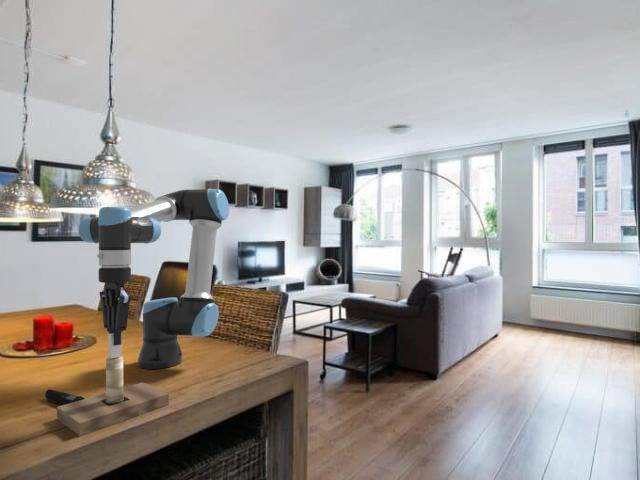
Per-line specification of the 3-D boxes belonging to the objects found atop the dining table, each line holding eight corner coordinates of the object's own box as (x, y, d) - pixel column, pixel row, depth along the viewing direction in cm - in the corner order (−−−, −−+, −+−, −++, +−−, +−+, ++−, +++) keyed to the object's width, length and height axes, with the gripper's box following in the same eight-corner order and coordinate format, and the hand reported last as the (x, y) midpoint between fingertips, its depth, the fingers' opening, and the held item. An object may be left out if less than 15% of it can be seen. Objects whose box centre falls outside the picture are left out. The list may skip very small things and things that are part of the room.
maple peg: (119, 407, 107) (119, 354, 107) (126, 411, 104) (126, 357, 104) (102, 412, 103) (102, 358, 103) (109, 416, 101) (109, 361, 101)
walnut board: (142, 392, 117) (142, 382, 117) (168, 405, 108) (168, 394, 108) (57, 418, 100) (57, 406, 99) (79, 436, 91) (79, 423, 91)
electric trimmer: (55, 397, 114) (55, 386, 114) (90, 407, 107) (89, 395, 107) (41, 402, 111) (41, 391, 111) (76, 412, 104) (75, 400, 104)
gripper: (89, 266, 105) (89, 355, 105) (111, 268, 97) (111, 365, 97) (118, 264, 111) (118, 349, 111) (141, 266, 102) (141, 358, 103)
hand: (115, 356), depth 104 cm, fingers closed
